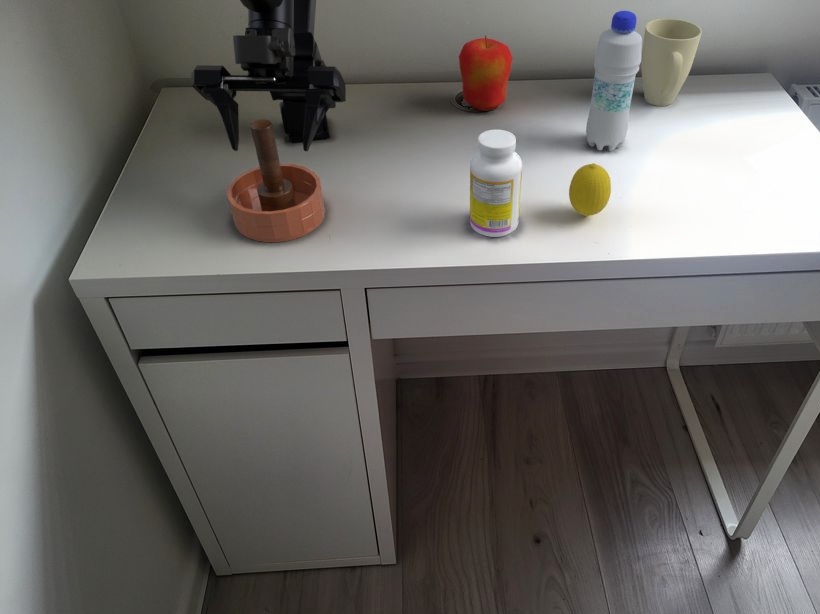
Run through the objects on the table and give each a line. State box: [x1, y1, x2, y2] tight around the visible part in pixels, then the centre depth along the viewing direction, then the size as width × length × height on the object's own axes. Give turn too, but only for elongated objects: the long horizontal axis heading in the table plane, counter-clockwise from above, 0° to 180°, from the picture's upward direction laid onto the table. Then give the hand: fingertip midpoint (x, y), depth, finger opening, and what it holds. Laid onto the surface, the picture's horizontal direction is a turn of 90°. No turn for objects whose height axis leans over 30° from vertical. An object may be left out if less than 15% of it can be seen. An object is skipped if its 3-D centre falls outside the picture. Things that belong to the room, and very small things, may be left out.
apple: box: [458, 34, 513, 111], centre depth 117 cm, size 9×8×12 cm
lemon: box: [568, 163, 612, 217], centre depth 95 cm, size 6×6×8 cm
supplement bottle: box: [469, 129, 523, 238], centre depth 92 cm, size 7×7×13 cm
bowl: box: [226, 163, 326, 243], centre depth 96 cm, size 12×12×4 cm
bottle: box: [585, 10, 643, 152], centre depth 105 cm, size 7×7×20 cm
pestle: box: [250, 119, 296, 211], centre depth 93 cm, size 5×5×13 cm
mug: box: [640, 18, 703, 107], centre depth 118 cm, size 11×10×12 cm
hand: (270, 150), depth 92 cm, fingers open, 9 cm apart
